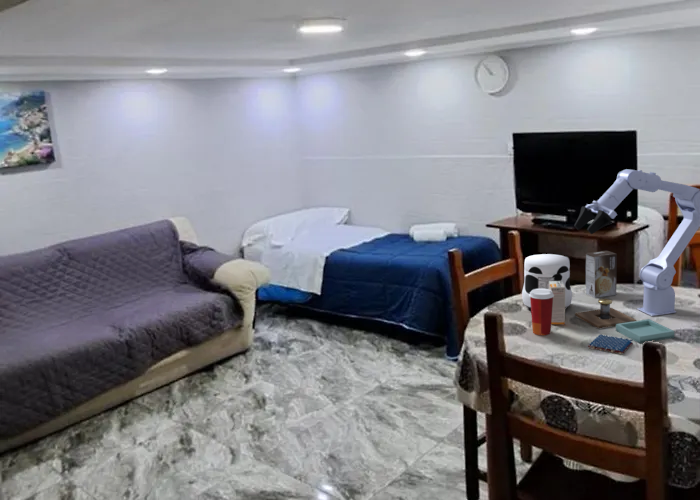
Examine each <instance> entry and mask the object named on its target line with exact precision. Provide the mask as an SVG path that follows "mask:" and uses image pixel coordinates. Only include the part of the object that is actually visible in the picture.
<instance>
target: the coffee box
mask: <svg viewBox="0 0 700 500" xmlns="http://www.w3.org/2000/svg"><path fill="white" fill-rule="evenodd" d="M617 255H618V254H617V253H615V252H613V251H609V250H601V251H593V252H592V251H591V252H587V253H585V294H586V295H587V296H590V297H592V298H594V299H597V298H604V297H611V296H616V295H617V274H618V273H617V269H618V268H617V266H618V265H617V263H618V262H617Z"/></svg>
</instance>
